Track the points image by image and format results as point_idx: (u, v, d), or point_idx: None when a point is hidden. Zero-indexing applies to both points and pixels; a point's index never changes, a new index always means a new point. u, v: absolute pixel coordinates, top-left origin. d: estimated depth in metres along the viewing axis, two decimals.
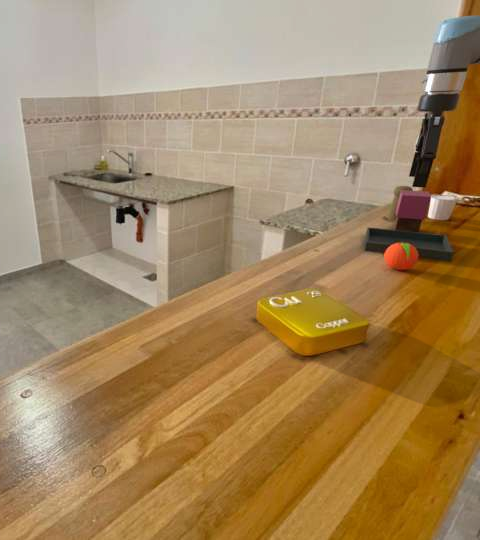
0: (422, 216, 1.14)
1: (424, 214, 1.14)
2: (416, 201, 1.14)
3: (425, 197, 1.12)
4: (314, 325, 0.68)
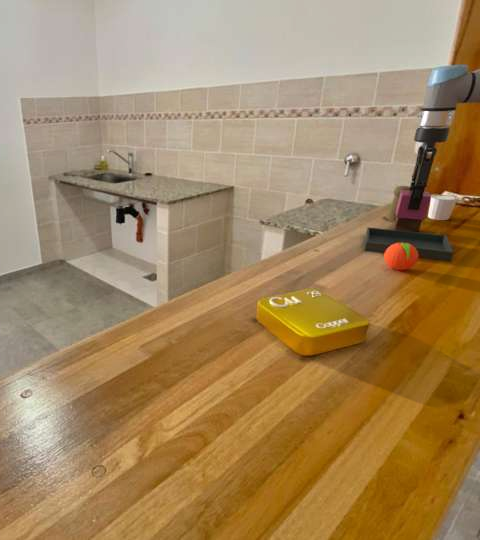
0: (422, 216, 1.14)
1: (424, 214, 1.14)
2: None
3: (425, 197, 1.12)
4: (314, 325, 0.68)
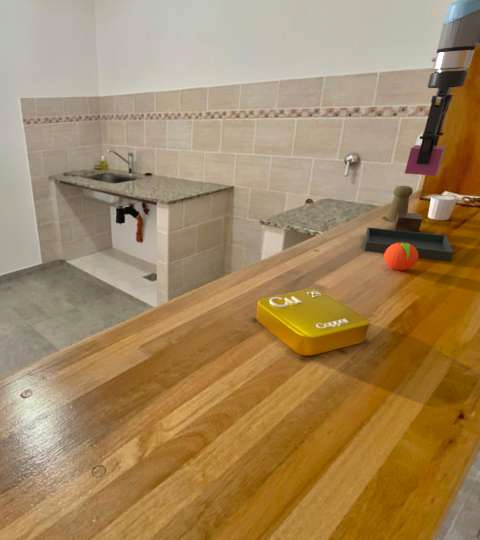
0: (433, 172, 1.05)
1: (435, 169, 1.04)
2: None
3: (436, 150, 1.03)
4: (314, 325, 0.68)
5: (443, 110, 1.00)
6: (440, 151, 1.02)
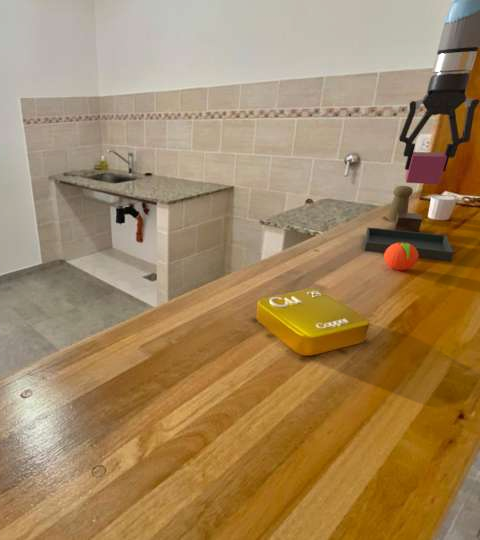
0: (406, 178, 1.02)
1: (407, 176, 1.02)
2: None
3: (412, 156, 1.00)
4: (314, 325, 0.68)
5: (425, 115, 0.97)
6: (412, 157, 1.00)
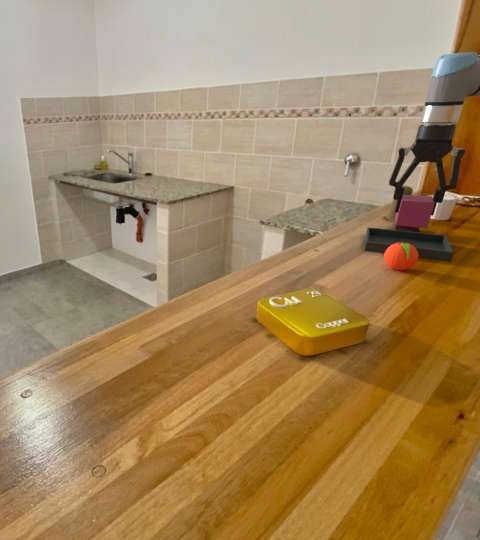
0: (396, 221, 1.05)
1: (397, 219, 1.05)
2: (400, 203, 1.05)
3: (401, 200, 1.03)
4: (314, 325, 0.68)
5: (413, 162, 1.00)
6: (401, 202, 1.03)
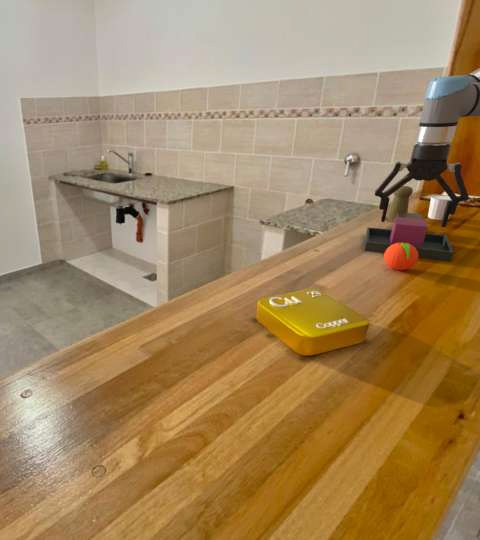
0: (390, 243, 1.08)
1: (391, 241, 1.07)
2: (394, 226, 1.08)
3: (395, 223, 1.06)
4: (314, 325, 0.68)
5: (406, 177, 1.02)
6: (395, 225, 1.05)
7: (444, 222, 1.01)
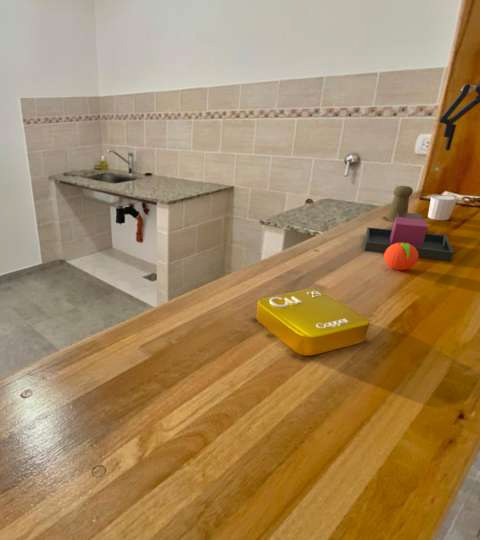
0: (390, 243, 1.08)
1: (391, 241, 1.07)
2: (394, 226, 1.08)
3: (395, 223, 1.06)
4: (314, 325, 0.68)
5: (475, 99, 0.99)
6: (395, 225, 1.05)
7: None
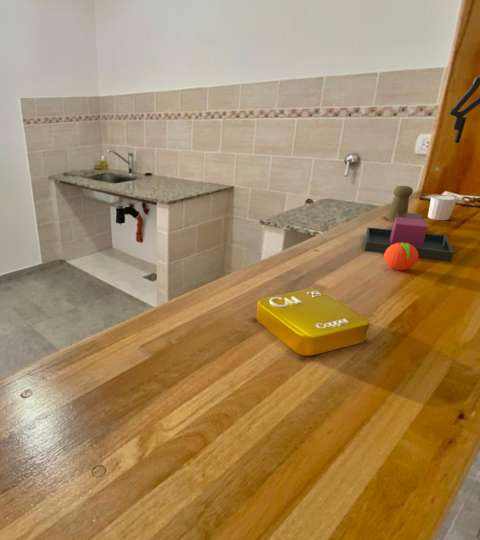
0: (390, 243, 1.08)
1: (391, 241, 1.07)
2: (394, 226, 1.08)
3: (395, 223, 1.06)
4: (314, 325, 0.68)
5: None
6: (395, 225, 1.05)
7: None
